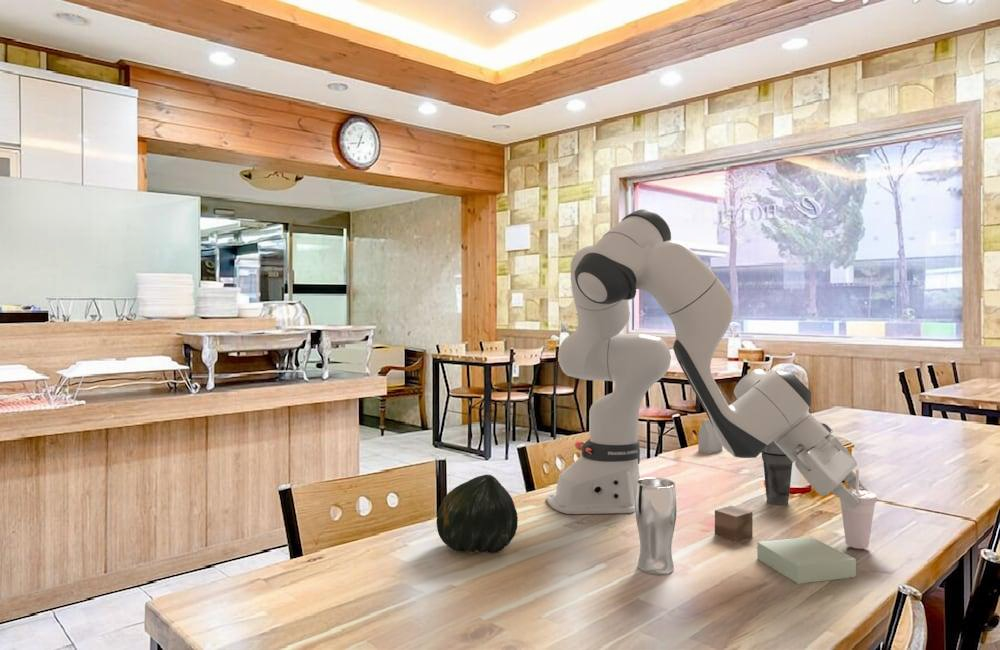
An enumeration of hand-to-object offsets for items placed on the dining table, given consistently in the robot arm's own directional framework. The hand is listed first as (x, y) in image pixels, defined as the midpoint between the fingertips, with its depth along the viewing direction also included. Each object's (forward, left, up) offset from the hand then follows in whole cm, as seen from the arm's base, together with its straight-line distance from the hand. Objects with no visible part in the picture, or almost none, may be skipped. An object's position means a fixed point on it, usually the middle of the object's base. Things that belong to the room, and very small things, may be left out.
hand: (861, 500), depth 122 cm
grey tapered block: (+16, +80, -9) cm, 83 cm away
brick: (-19, +12, -9) cm, 24 cm away
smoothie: (0, 0, -9) cm, 9 cm away
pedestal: (-16, -5, -9) cm, 19 cm away
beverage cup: (+3, +29, -9) cm, 31 cm away
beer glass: (-41, +1, -9) cm, 42 cm away
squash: (-69, +18, -9) cm, 72 cm away
